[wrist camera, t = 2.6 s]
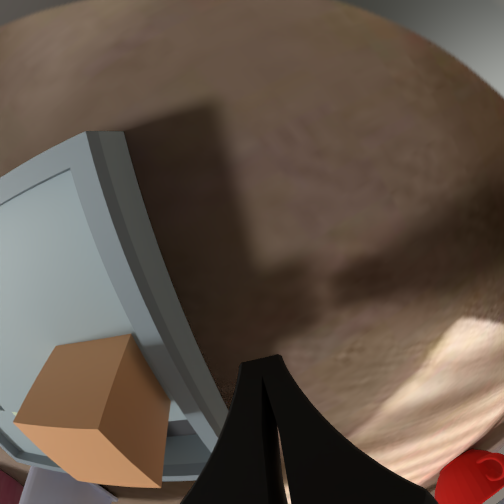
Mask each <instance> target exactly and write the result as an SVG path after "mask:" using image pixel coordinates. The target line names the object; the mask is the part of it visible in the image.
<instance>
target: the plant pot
mask: <svg viewBox="0 0 504 504" xmlns="http://www.w3.org/2000/svg"><path fill="white" fill-rule="evenodd" d="M23 489H24V487H23V486H22V485H21V484H20V483H18V482H17V481H16V480H15V479H13V478H12V477H10V476H9V475H7V474H6V473H5V472H3V471H1V470H0V504H19V502H20V498H21V495H22V492H23Z"/></svg>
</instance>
